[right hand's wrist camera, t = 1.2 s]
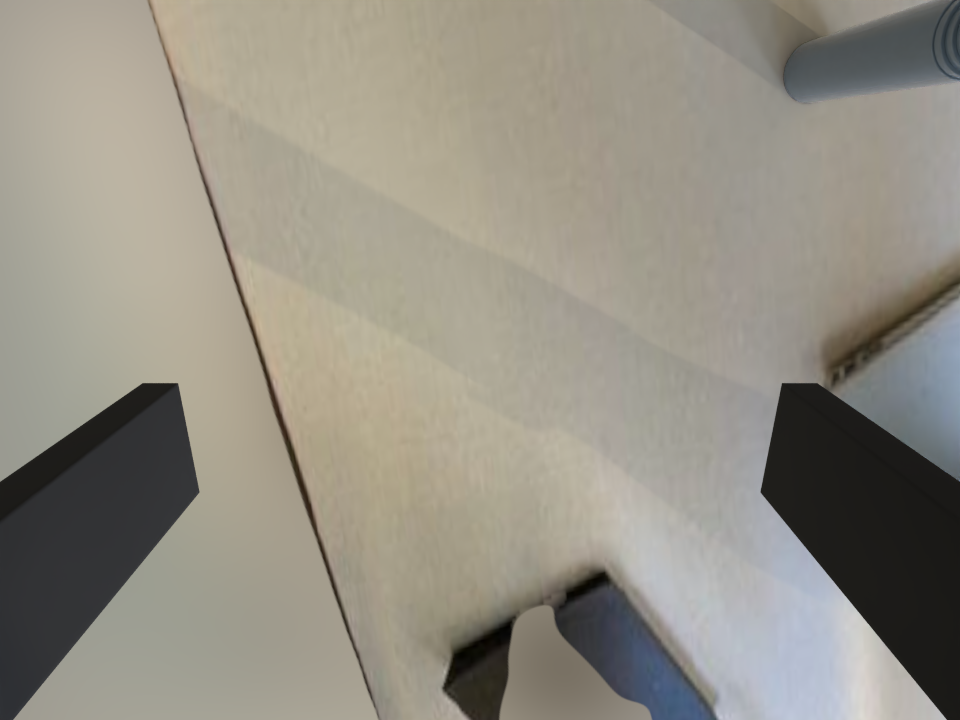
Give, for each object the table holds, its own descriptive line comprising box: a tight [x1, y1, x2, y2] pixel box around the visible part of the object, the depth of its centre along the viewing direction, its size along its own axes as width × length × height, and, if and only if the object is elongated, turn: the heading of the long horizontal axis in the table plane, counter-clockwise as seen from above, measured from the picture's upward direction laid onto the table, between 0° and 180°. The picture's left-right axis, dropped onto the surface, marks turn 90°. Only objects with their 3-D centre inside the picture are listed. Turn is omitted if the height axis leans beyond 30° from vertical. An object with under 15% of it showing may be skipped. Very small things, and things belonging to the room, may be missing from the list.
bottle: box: [784, 0, 960, 103], centre depth 37 cm, size 5×5×21 cm
